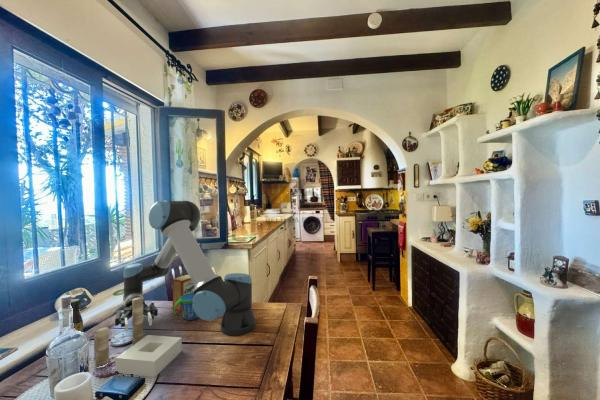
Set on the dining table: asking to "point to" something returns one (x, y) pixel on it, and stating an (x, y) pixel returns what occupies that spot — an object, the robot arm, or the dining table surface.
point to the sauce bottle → (77, 315)
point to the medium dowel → (102, 346)
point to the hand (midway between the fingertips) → (138, 324)
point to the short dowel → (94, 346)
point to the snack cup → (186, 306)
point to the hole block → (148, 355)
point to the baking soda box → (181, 289)
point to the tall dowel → (137, 319)
